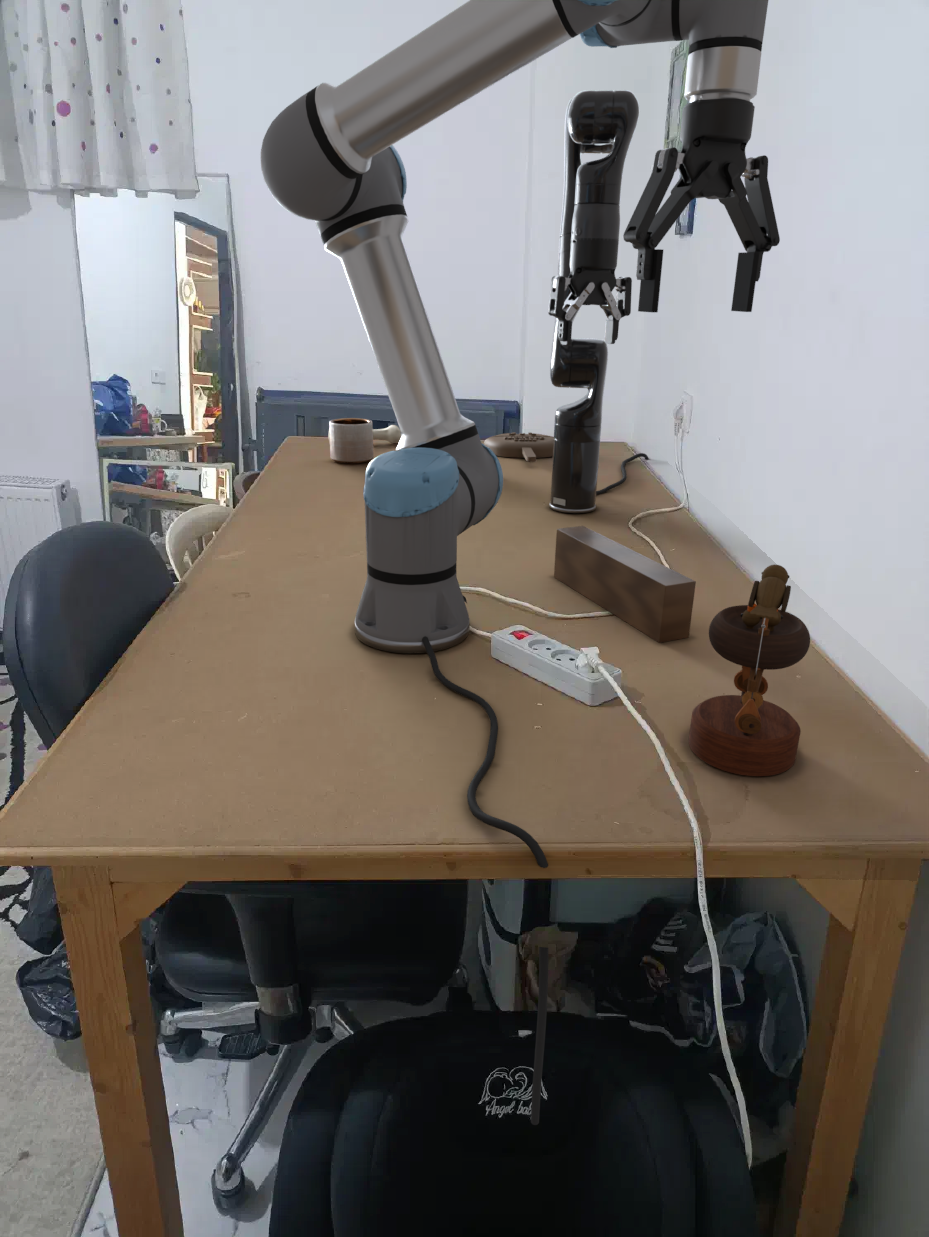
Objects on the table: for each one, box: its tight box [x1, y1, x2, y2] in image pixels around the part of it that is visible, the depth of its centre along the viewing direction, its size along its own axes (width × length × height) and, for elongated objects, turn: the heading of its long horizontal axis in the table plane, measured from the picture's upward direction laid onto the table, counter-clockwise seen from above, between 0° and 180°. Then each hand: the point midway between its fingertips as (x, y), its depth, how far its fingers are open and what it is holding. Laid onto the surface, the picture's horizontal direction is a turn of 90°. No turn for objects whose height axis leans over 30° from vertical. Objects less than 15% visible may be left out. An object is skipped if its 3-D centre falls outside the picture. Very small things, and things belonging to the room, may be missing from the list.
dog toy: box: [327, 424, 401, 444], centre depth 234 cm, size 20×6×5 cm, turn 99°
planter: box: [328, 417, 375, 464], centre depth 212 cm, size 11×11×10 cm
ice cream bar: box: [483, 431, 554, 463], centre depth 221 cm, size 21×28×4 cm
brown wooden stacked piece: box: [688, 564, 811, 777], centre depth 83 cm, size 15×11×20 cm
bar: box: [553, 525, 697, 644], centre depth 122 cm, size 28×5×8 cm, turn 24°
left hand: (695, 312), depth 99 cm, fingers open, 13 cm apart
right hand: (587, 344), depth 140 cm, fingers open, 8 cm apart
